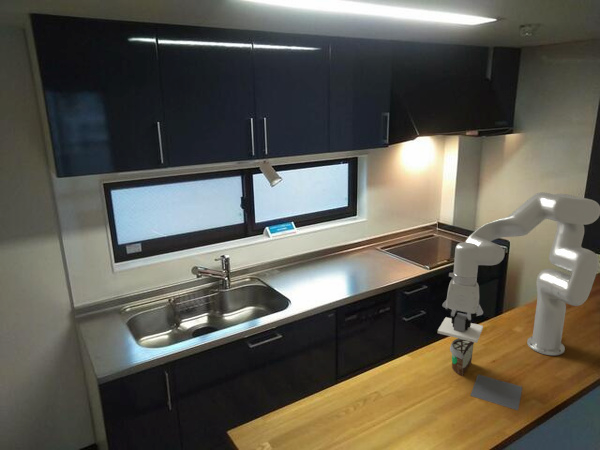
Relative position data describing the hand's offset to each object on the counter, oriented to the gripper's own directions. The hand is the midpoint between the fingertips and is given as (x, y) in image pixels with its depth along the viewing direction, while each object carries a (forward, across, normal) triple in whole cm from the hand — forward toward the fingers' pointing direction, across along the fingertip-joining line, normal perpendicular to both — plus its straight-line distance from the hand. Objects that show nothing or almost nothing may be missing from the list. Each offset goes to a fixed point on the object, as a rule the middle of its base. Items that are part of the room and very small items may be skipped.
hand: (460, 326), depth 149 cm
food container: (+17, 0, 0) cm, 17 cm away
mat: (+17, +14, -8) cm, 23 cm away
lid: (+2, 0, 0) cm, 2 cm away
